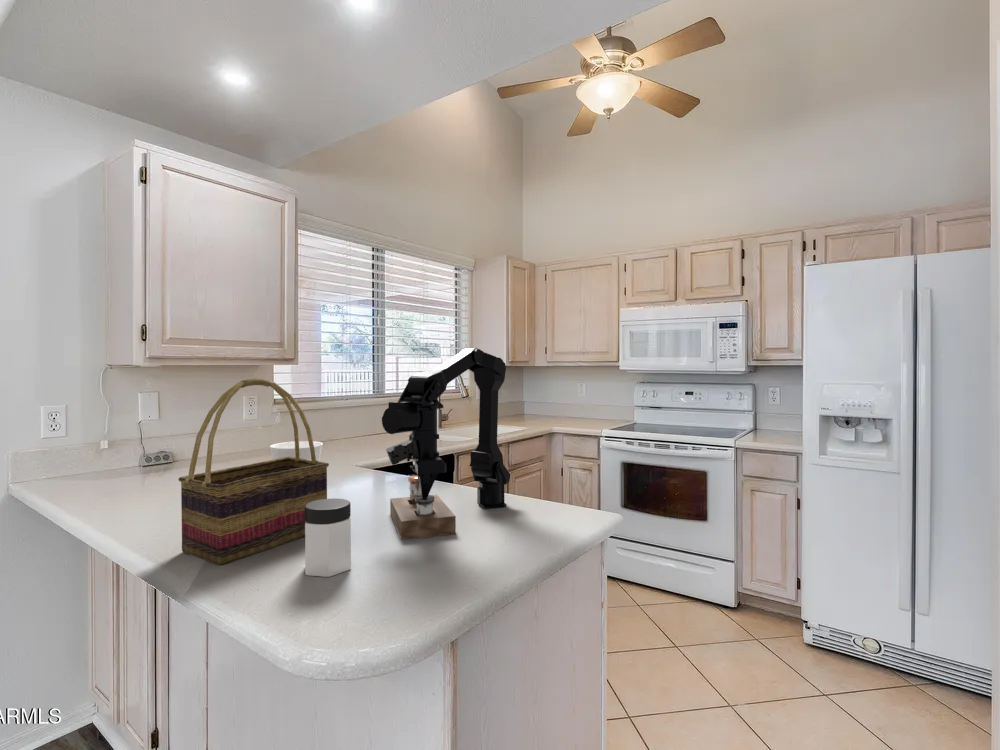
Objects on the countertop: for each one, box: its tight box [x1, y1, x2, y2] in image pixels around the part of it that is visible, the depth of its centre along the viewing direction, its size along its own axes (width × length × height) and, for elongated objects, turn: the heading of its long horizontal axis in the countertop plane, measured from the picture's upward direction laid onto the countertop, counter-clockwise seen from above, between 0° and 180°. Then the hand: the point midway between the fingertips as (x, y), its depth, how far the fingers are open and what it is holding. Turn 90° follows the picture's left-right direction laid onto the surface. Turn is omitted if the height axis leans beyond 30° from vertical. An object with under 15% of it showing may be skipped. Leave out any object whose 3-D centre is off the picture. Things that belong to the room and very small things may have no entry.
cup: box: [269, 440, 324, 462], centre depth 141 cm, size 14×14×16 cm
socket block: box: [389, 494, 457, 541], centre depth 121 cm, size 12×20×4 cm, turn 19°
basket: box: [177, 377, 330, 566], centre depth 109 cm, size 26×15×35 cm, turn 150°
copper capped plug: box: [407, 474, 422, 504], centre depth 125 cm, size 4×4×7 cm
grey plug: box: [415, 494, 434, 516], centre depth 116 cm, size 4×4×7 cm
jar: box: [304, 497, 352, 578], centre depth 94 cm, size 9×8×12 cm
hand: (424, 497), depth 116 cm, fingers closed, pressing on grey plug
